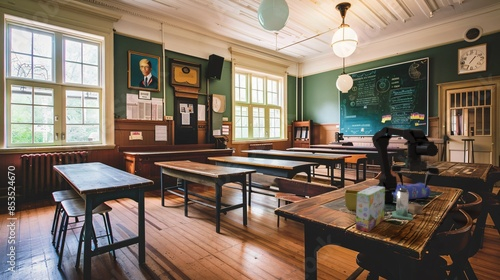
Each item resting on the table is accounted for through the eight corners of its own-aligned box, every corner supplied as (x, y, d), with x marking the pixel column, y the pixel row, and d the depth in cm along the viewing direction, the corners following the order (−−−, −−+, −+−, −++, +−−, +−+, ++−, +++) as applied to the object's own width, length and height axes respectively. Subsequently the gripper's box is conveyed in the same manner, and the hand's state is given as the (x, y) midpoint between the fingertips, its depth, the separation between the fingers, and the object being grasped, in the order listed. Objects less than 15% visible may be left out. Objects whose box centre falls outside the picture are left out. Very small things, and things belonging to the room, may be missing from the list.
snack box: (370, 233, 95) (370, 194, 95) (355, 229, 99) (355, 192, 99) (385, 219, 110) (385, 186, 110) (371, 216, 114) (372, 184, 114)
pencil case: (403, 201, 141) (403, 185, 141) (390, 198, 149) (391, 182, 149) (431, 199, 147) (432, 183, 147) (418, 195, 155) (418, 180, 155)
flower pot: (363, 208, 128) (363, 191, 128) (363, 212, 120) (363, 194, 120) (345, 206, 131) (345, 189, 131) (344, 210, 123) (344, 192, 123)
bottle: (395, 215, 114) (396, 188, 114) (396, 212, 118) (397, 186, 118) (407, 217, 112) (408, 190, 111) (407, 214, 116) (408, 188, 115)
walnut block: (414, 214, 118) (414, 206, 118) (408, 211, 122) (408, 203, 122) (422, 214, 118) (422, 206, 118) (416, 211, 122) (416, 203, 122)
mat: (392, 217, 113) (392, 216, 113) (392, 212, 120) (392, 211, 120) (412, 220, 109) (412, 219, 109) (411, 215, 116) (411, 214, 116)
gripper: (392, 155, 116) (391, 188, 116) (441, 156, 107) (441, 192, 107) (391, 153, 126) (391, 184, 126) (437, 155, 116) (436, 187, 117)
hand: (413, 187), depth 119 cm, fingers open, 9 cm apart
